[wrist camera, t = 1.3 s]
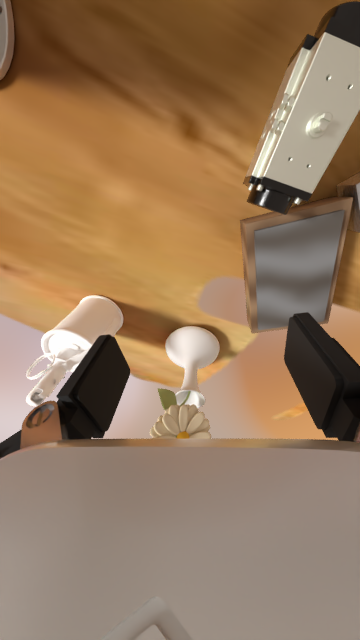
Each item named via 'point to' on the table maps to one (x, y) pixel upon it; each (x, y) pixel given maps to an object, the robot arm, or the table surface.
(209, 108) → the table surface
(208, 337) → the flower in vase
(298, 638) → the robot arm
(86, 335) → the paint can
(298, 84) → the pneumatic valve
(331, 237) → the stand
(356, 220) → the grey rectangular block
